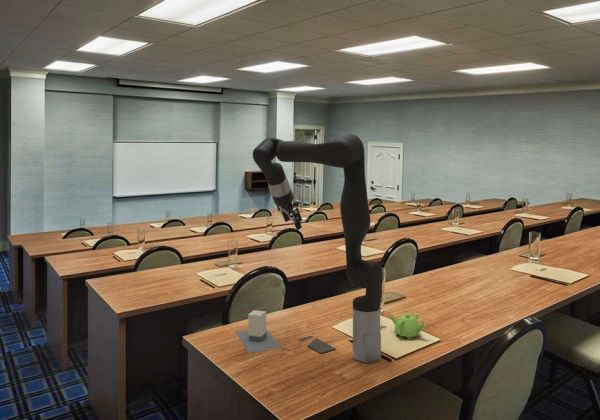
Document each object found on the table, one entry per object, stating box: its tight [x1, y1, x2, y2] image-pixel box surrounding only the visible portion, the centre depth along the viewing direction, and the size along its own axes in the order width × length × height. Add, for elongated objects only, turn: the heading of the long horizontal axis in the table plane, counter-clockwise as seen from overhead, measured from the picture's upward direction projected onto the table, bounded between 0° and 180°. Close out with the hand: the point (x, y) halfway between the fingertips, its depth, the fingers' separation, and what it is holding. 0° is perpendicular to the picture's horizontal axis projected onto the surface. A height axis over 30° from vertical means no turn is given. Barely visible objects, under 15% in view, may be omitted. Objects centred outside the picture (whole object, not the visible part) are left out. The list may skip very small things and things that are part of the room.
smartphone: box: [297, 335, 337, 355], centre depth 172 cm, size 7×1×15 cm
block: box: [247, 309, 268, 342], centre depth 177 cm, size 5×5×10 cm
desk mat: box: [235, 329, 282, 354], centre depth 177 cm, size 22×12×1 cm, turn 20°
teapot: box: [389, 313, 427, 340], centre depth 179 cm, size 11×12×8 cm
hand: (293, 224), depth 182 cm, fingers open, 8 cm apart
